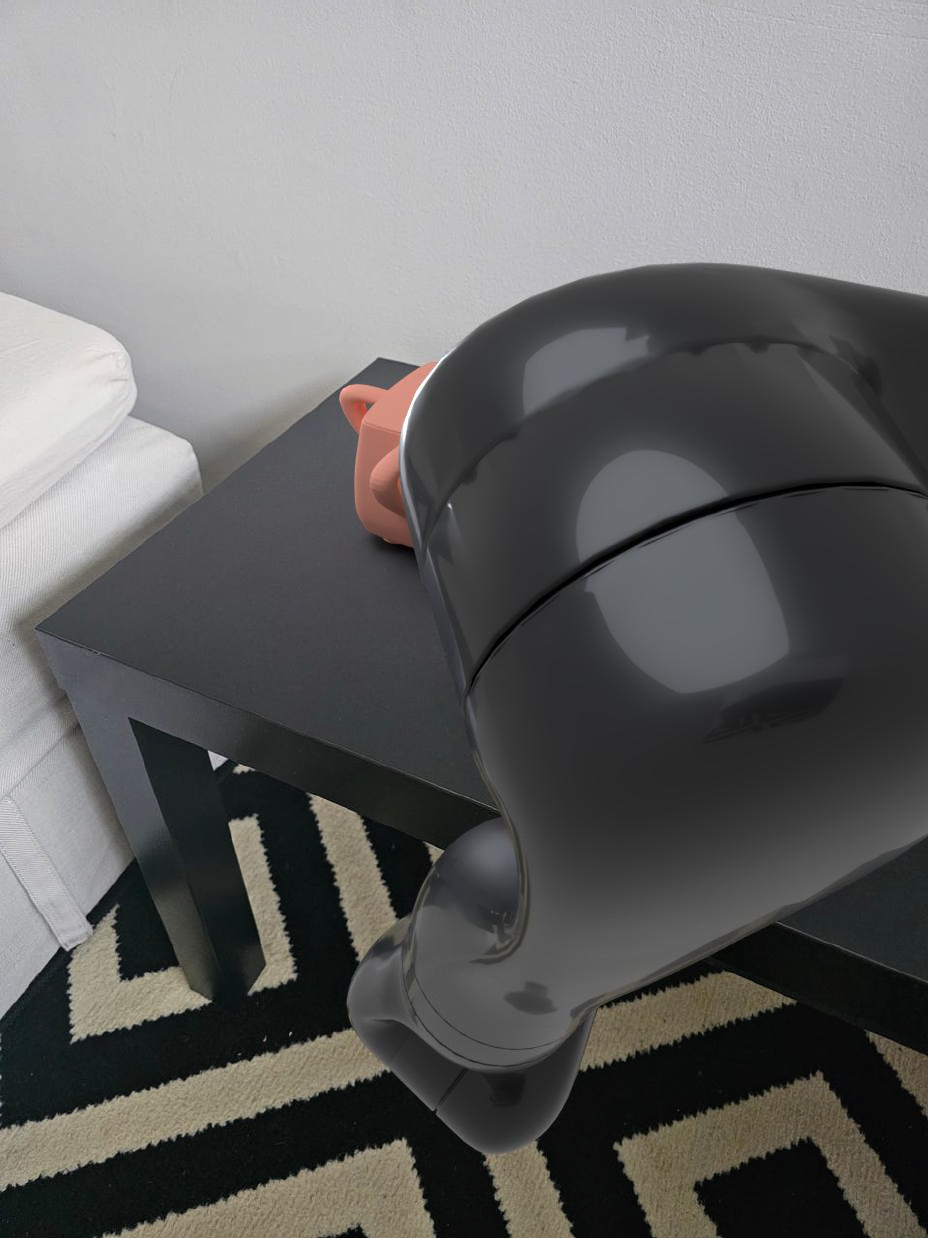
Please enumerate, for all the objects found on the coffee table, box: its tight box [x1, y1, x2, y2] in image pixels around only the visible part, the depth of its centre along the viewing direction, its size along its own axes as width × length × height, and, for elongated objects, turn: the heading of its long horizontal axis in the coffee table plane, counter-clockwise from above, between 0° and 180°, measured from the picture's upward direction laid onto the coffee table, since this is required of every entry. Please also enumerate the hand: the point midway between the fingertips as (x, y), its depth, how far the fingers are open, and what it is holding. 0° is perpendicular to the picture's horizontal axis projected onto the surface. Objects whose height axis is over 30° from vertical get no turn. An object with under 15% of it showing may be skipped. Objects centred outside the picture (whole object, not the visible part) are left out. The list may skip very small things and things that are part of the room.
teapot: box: [339, 361, 439, 549], centre depth 78 cm, size 17×16×13 cm
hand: (792, 622), depth 63 cm, fingers open, 6 cm apart
